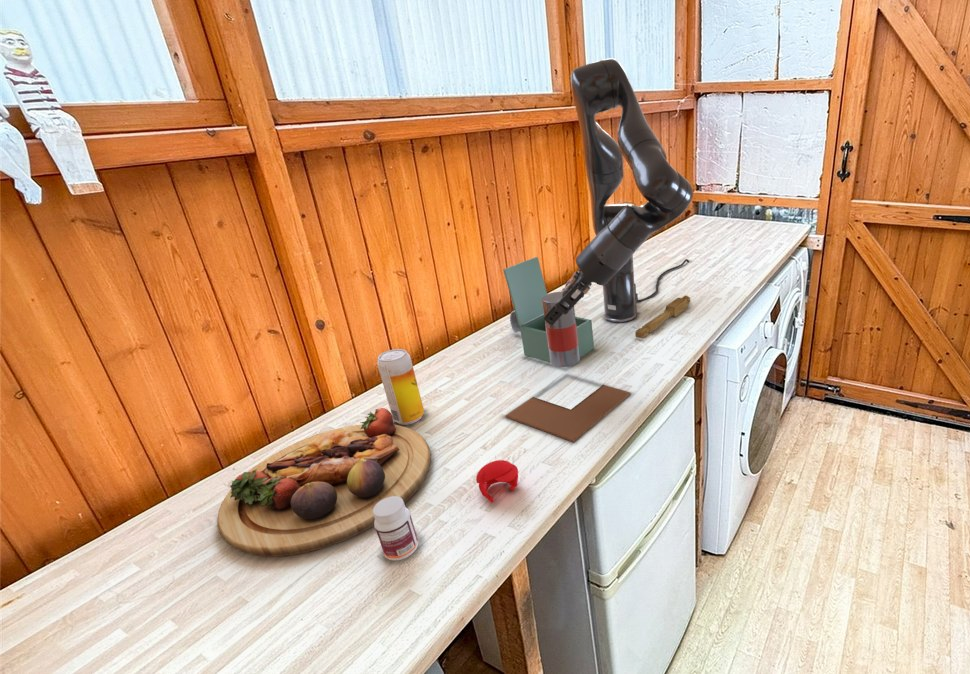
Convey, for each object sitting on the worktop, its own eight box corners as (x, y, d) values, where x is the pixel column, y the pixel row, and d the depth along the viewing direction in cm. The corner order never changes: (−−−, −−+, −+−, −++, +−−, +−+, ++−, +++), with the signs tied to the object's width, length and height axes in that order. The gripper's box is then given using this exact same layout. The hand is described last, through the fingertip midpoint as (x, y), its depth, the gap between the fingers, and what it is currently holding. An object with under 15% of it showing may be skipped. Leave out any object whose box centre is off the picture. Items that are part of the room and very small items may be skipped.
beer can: (431, 412, 111) (415, 349, 105) (410, 428, 106) (393, 363, 99) (408, 408, 113) (391, 346, 106) (387, 423, 108) (368, 359, 101)
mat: (567, 375, 124) (566, 373, 123) (630, 394, 115) (630, 392, 115) (505, 417, 108) (505, 415, 108) (573, 442, 100) (573, 440, 99)
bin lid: (537, 256, 133) (525, 257, 135) (504, 269, 124) (492, 270, 126) (551, 309, 138) (539, 309, 140) (520, 325, 129) (508, 325, 131)
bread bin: (594, 350, 135) (591, 319, 132) (565, 369, 126) (562, 337, 123) (554, 340, 142) (550, 310, 138) (524, 357, 133) (519, 326, 129)
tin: (556, 353, 110) (548, 291, 104) (583, 354, 109) (577, 292, 103) (545, 366, 105) (536, 302, 99) (574, 368, 104) (567, 303, 98)
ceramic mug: (550, 331, 148) (547, 305, 144) (526, 340, 142) (522, 314, 139) (529, 322, 154) (525, 297, 151) (505, 330, 149) (501, 305, 146)
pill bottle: (391, 538, 79) (377, 495, 76) (423, 535, 79) (410, 492, 76) (379, 563, 75) (363, 519, 71) (413, 560, 75) (399, 516, 72)
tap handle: (634, 328, 140) (683, 293, 163) (634, 339, 141) (683, 302, 164) (643, 330, 138) (692, 294, 162) (644, 341, 140) (692, 304, 163)
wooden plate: (364, 416, 110) (353, 382, 107) (469, 460, 96) (461, 423, 92) (184, 513, 85) (162, 473, 82) (289, 593, 71) (268, 549, 67)
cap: (469, 499, 86) (462, 471, 84) (490, 476, 91) (485, 449, 89) (511, 510, 84) (505, 480, 81) (530, 485, 89) (525, 457, 86)
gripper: (595, 232, 103) (543, 290, 108) (585, 252, 90) (527, 317, 95) (623, 257, 105) (571, 313, 110) (618, 280, 92) (559, 342, 97)
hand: (551, 314), depth 103 cm, fingers closed on tin, 6 cm apart
